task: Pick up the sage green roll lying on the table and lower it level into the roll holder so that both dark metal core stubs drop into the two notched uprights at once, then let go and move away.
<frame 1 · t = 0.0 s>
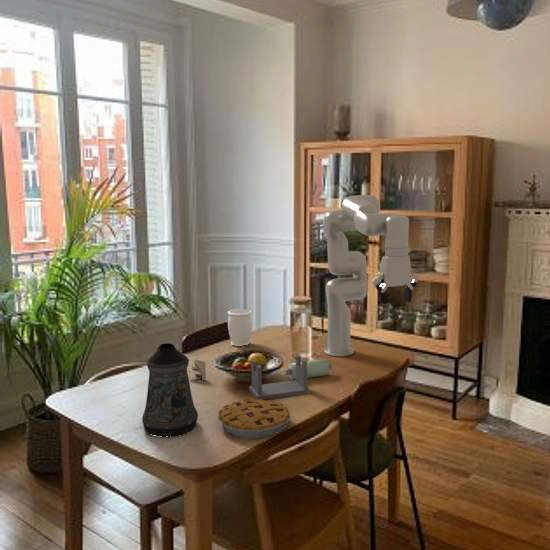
hand: (395, 302, 198), 31 cm above the table, tool pointing down, fingers open, 9 cm apart
roll holder: (279, 391, 203), on the table
jar: (240, 344, 259), on the table
beer stein: (167, 425, 177), on the table
pie: (254, 425, 177), on the table
roll: (308, 377, 217), on the table
architectural model: (199, 380, 216), on the table
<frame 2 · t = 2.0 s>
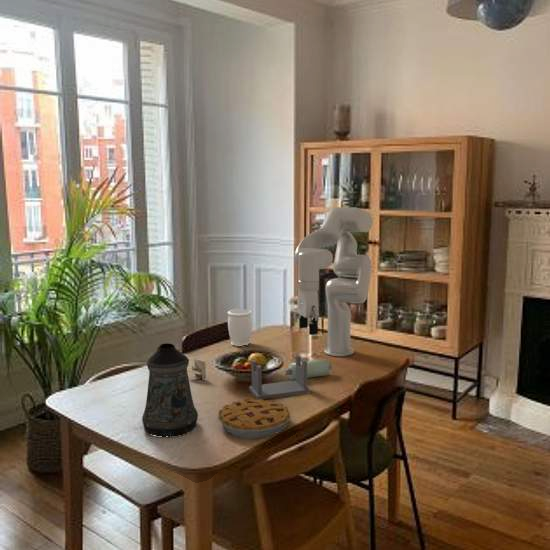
hand: (308, 330, 214), 18 cm above the table, tool pointing down, fingers open, 9 cm apart
nothing on the table moved.
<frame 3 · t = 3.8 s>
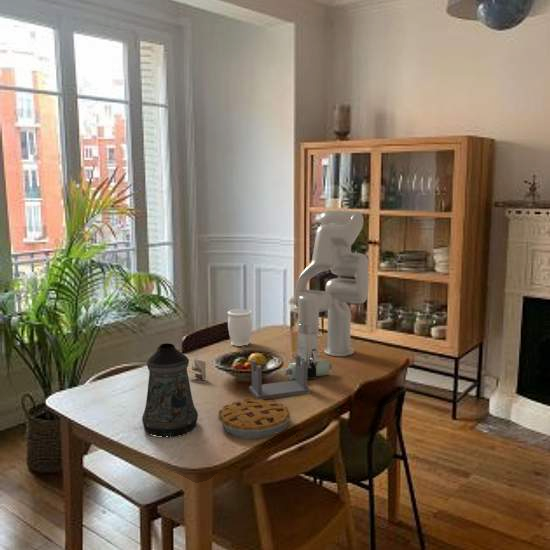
hand: (308, 374, 217), 1 cm above the table, tool pointing down, fingers closed on roll, 6 cm apart
roll: (308, 376, 217), on the table, touching gripper
everything else where it was.
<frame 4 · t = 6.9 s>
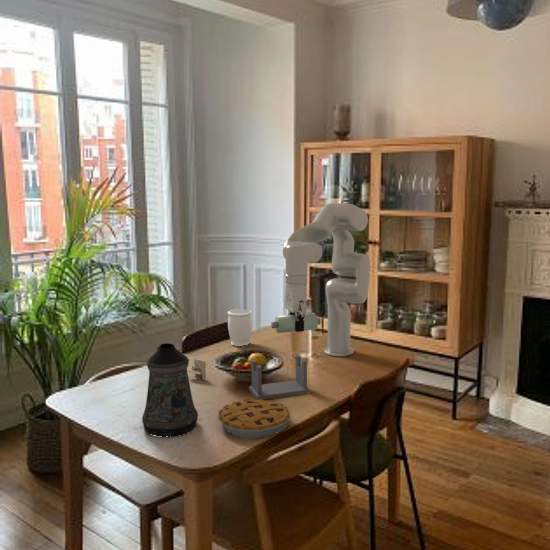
hand: (296, 328, 207), 20 cm above the table, tool pointing down, fingers closed on roll, 6 cm apart
roll: (296, 331, 208), point 19 cm above the table, touching gripper
everything else where it was.
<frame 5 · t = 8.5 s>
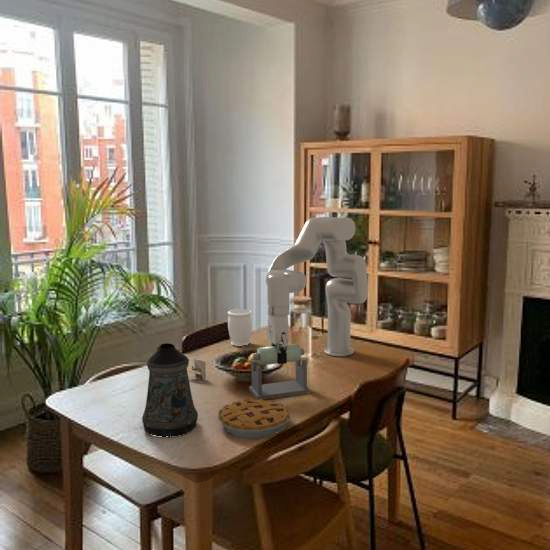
hand: (278, 360, 201), 11 cm above the table, tool pointing down, fingers closed on roll, 6 cm apart
roll: (278, 362, 201), point 10 cm above the table, touching gripper
everything else where it was.
when the fingers open (8 cm above the table, at t = 9.6 s): roll drops 1 cm, resting on roll holder.
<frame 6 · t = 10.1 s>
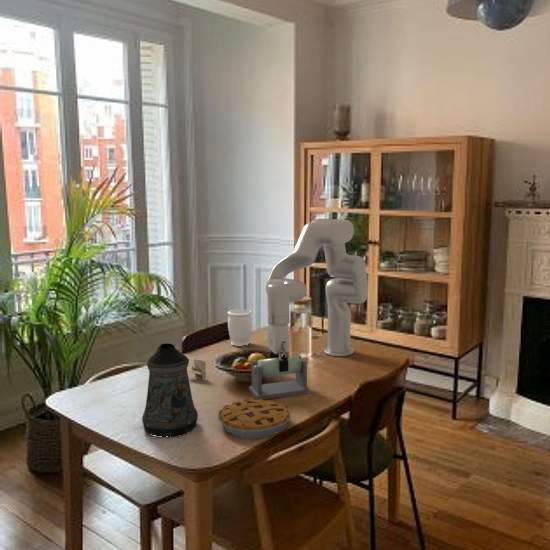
hand: (279, 366, 202), 9 cm above the table, tool pointing down, fingers open, 9 cm apart
roll: (279, 374, 202), point 6 cm above the table, touching roll holder
everything else where it was.
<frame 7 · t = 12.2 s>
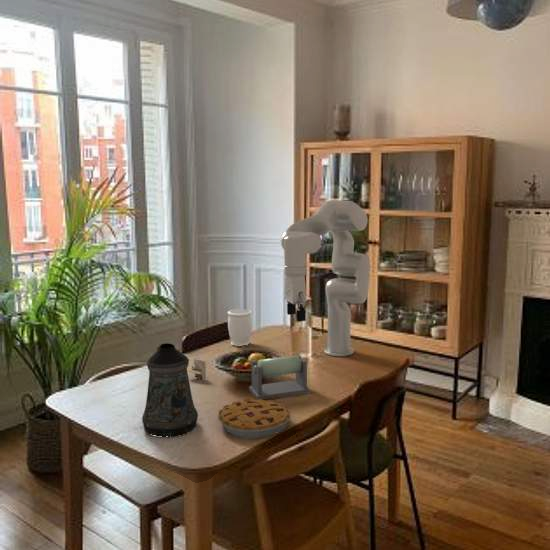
hand: (296, 317, 207), 24 cm above the table, tool pointing down, fingers open, 9 cm apart
nothing on the table moved.
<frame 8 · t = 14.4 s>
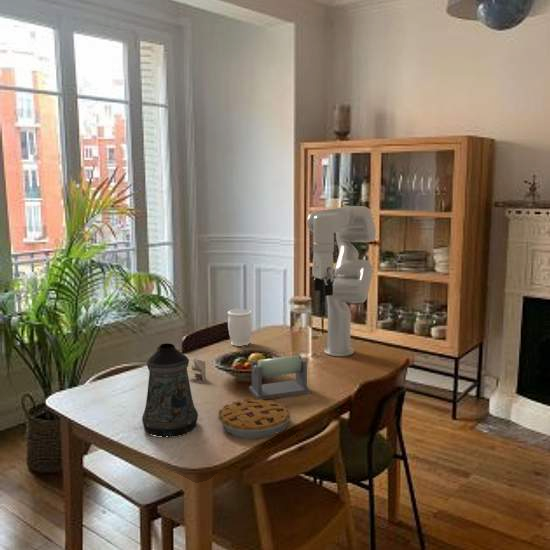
hand: (323, 292, 219), 30 cm above the table, tool pointing down, fingers open, 9 cm apart
nothing on the table moved.
at the end: roll 0.2 cm off-centre on the roll holder, point 6.0 cm above the roll holder's base; roll tilted 2°; the gripper is holding nothing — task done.
